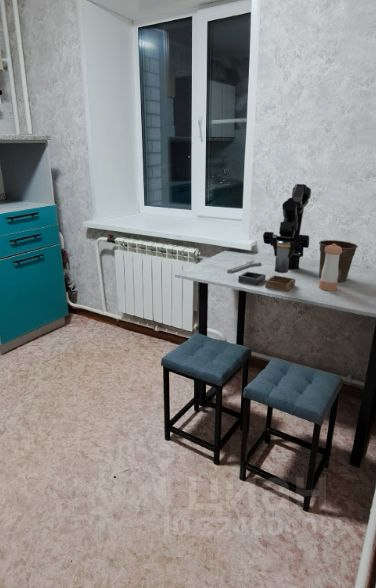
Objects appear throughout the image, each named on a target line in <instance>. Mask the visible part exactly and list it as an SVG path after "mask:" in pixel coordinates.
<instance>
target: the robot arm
mask: <svg viewBox="0 0 376 588" xmlns="http://www.w3.org/2000/svg"><path fill="white" fill-rule="evenodd" d="M311 197H312V188H310V187H308V186H307V184H305V183H297V184H295V185H294V187H293V188H292V192H291V196H290V197H289V198H288V199H287V200H285V201H284V202H283V203H282V208H281V209H282V217H283V221H280V223H279V224H280V225H279V232H278V234H279V235H277V234H275V233H274V231H264V232H263V234H262V240H263V243H264V244H265V245H270V246H272V248H273V252H274V257H276V250H277V241H281V240H283V241H290V242H291V247H290V254H289V266H288V270H300V269H301V267H300V259H301V258H302V257H304V250H305V249H309V246H310V236H309V235H308V234H301V229H302V223H303V218H304V217H303V216H304V211H305V207H306V206H307V205H308V204H309V201H310V199H311Z"/></svg>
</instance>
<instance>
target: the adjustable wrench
mask: <svg viewBox="0 0 376 588" xmlns="http://www.w3.org/2000/svg"><path fill="white" fill-rule="evenodd" d="M261 265H262V261H260V260H259V261H256V262H255V261H254V260H249V261H246V263H244V264H241V265H239V266H238V265H237V266H236V267H232V268H229V269H227V271H226V272H227V274H234V273H236V272H238V271H241V270H245V269H247V268H250V267H257V266H258V267H259V266H261Z"/></svg>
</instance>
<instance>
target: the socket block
mask: <svg viewBox="0 0 376 588" xmlns="http://www.w3.org/2000/svg"><path fill="white" fill-rule="evenodd" d="M266 277H267V276H266V274H264V273H259V272H254V271H253V272H252V271H245V272H244V273H242V274H240V275H238V282H240V283H243V284H244V283H245V284H249V285H254V286H259V285H260V284H261V283H264V282H266Z"/></svg>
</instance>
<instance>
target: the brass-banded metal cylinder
mask: <svg viewBox="0 0 376 588" xmlns="http://www.w3.org/2000/svg"><path fill="white" fill-rule="evenodd" d="M290 247H291V242H290V241H283V240H281V241H277V250H276V256H275V260H274V261H275V263H274V272H275V273H278V274H286V273H289V269H288V266H289V254H290Z"/></svg>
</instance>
